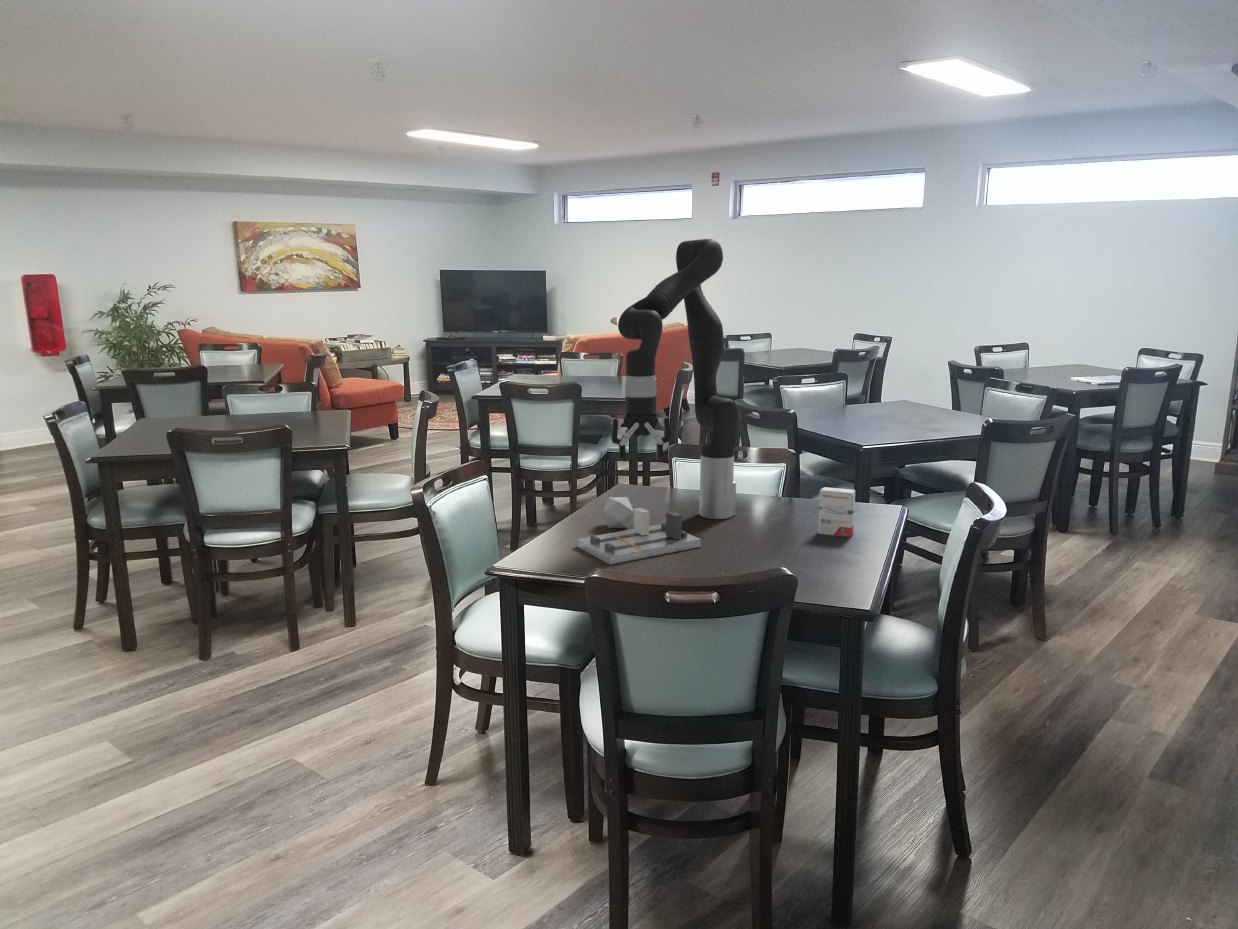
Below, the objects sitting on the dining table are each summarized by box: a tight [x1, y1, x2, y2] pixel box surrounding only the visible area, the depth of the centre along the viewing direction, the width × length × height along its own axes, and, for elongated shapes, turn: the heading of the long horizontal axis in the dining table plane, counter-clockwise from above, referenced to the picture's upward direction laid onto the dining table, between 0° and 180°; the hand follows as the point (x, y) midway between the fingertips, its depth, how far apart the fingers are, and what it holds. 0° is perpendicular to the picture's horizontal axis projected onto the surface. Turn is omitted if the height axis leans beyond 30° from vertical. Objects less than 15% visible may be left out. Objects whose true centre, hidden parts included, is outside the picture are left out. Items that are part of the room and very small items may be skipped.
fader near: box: [665, 510, 683, 539], centre depth 208 cm, size 2×4×6 cm, turn 32°
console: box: [576, 522, 702, 566], centre depth 208 cm, size 26×16×3 cm, turn 121°
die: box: [602, 496, 634, 529], centre depth 225 cm, size 8×9×10 cm
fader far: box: [633, 507, 650, 536], centre depth 211 cm, size 2×4×6 cm, turn 31°
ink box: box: [817, 486, 856, 538], centre depth 218 cm, size 9×5×12 cm, turn 65°
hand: (640, 459), depth 206 cm, fingers open, 8 cm apart
